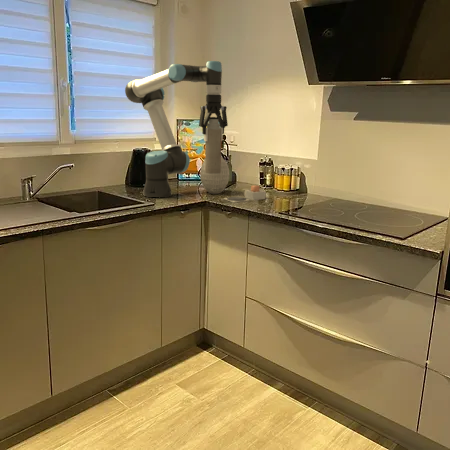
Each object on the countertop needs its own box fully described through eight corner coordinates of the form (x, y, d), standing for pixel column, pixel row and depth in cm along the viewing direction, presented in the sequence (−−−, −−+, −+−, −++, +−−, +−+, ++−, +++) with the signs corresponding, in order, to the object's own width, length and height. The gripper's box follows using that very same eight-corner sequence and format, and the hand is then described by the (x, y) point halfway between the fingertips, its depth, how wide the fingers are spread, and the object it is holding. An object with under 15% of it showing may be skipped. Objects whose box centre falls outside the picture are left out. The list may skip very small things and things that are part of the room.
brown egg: (249, 193, 248) (249, 185, 247) (256, 192, 250) (256, 185, 249) (254, 194, 244) (254, 187, 243) (261, 193, 246) (261, 186, 245)
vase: (226, 195, 253) (227, 154, 247) (197, 194, 255) (197, 153, 250) (231, 190, 268) (231, 151, 263) (203, 189, 271) (203, 150, 265)
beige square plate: (223, 198, 245) (223, 197, 244) (239, 197, 250) (239, 196, 249) (233, 202, 236) (233, 201, 236) (249, 200, 241) (249, 199, 241)
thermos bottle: (220, 171, 244) (221, 116, 237) (220, 174, 236) (221, 117, 229) (205, 171, 244) (206, 116, 237) (204, 173, 237) (205, 117, 229)
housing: (244, 197, 249) (244, 190, 248) (256, 196, 253) (257, 188, 252) (253, 200, 242) (253, 192, 241) (265, 198, 246) (265, 191, 245)
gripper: (198, 93, 222) (198, 142, 228) (235, 94, 233) (234, 140, 238) (191, 93, 228) (191, 140, 234) (227, 94, 239) (227, 139, 245)
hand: (213, 140), depth 236 cm, fingers closed on thermos bottle, 8 cm apart
